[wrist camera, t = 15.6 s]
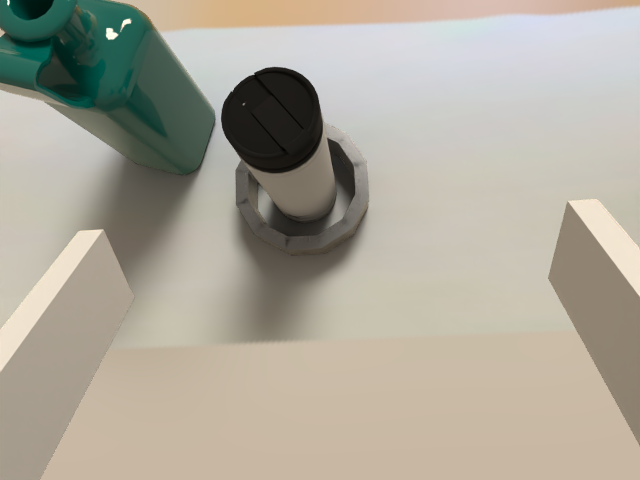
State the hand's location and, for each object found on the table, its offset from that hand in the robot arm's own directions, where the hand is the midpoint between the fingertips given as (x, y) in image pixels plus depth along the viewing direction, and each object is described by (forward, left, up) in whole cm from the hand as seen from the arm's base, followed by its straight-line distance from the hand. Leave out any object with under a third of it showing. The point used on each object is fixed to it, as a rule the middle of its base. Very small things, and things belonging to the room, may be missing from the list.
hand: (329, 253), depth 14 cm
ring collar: (+9, -7, -32) cm, 34 cm away
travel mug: (+9, -7, -32) cm, 34 cm away
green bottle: (+25, -6, -32) cm, 41 cm away
